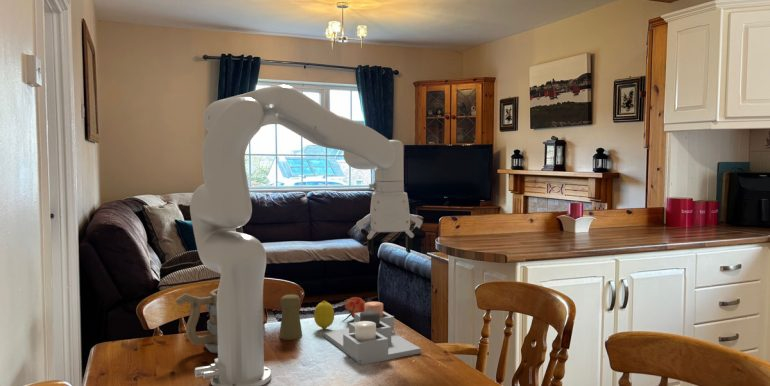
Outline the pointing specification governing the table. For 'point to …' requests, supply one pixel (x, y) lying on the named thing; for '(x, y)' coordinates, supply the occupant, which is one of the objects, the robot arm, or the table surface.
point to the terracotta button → (374, 307)
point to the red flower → (355, 306)
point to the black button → (371, 317)
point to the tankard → (196, 302)
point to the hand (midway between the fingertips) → (390, 252)
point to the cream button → (365, 331)
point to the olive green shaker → (290, 318)
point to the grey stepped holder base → (372, 342)
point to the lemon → (324, 314)
